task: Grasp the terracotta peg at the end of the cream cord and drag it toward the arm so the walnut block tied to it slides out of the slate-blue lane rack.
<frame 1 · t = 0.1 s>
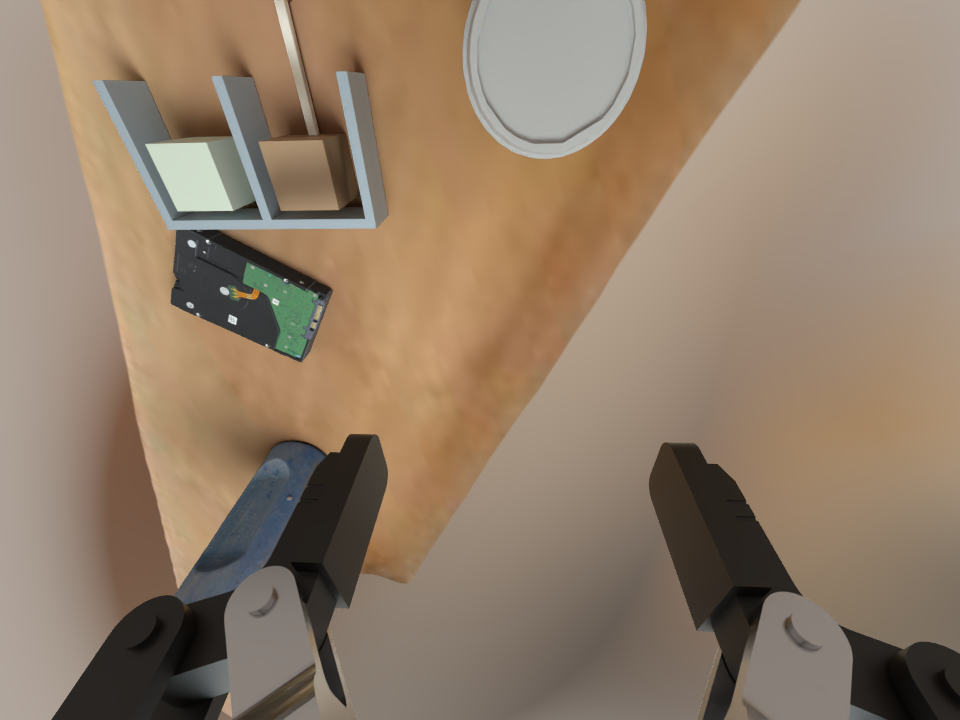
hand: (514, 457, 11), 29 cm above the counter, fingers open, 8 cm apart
lane rack: (270, 148, 33), on the counter
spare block: (228, 168, 34), resting in lane rack
corded block: (325, 166, 33), on the counter
bottle: (302, 459, 59), on the counter
disk drive: (260, 290, 42), on the counter
disposable coffee cup: (538, 67, 28), on the counter
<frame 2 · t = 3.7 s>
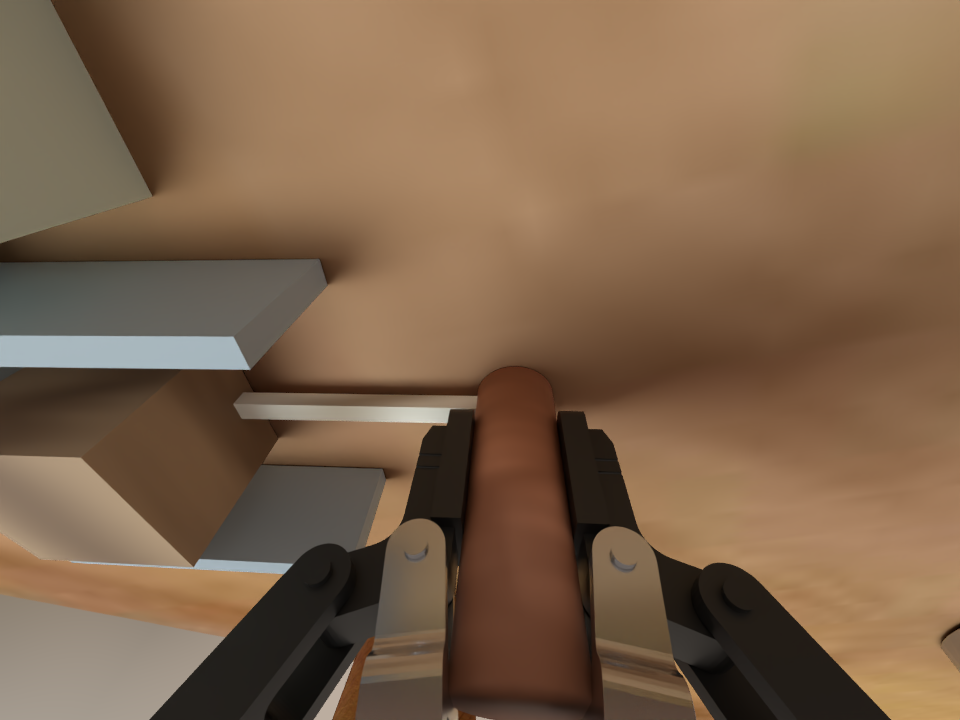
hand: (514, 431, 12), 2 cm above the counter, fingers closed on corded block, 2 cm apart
lane rack: (159, 274, 11), on the counter
corded block: (189, 391, 14), on the counter, touching gripper
disposable coffee cup: (425, 604, 24), on the counter
when the fingers open (2 cm above the counter, at t = 7.4 s): corded block stays where it is, on the counter.
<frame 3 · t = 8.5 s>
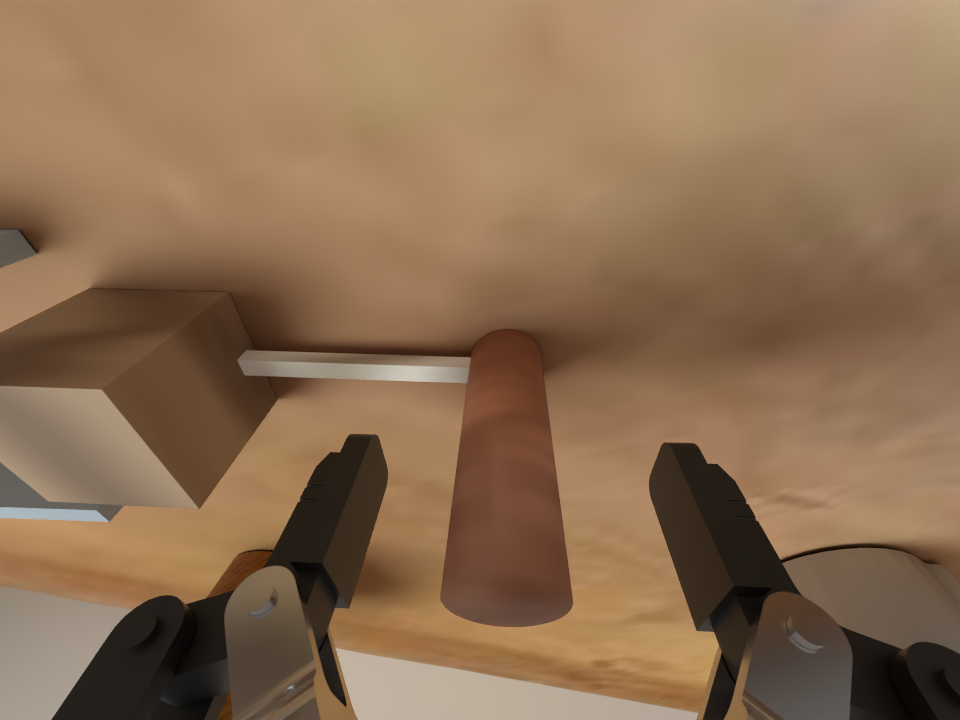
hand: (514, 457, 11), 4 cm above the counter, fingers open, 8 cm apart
corded block: (192, 349, 14), on the counter
disposable coffee cup: (282, 569, 26), on the counter
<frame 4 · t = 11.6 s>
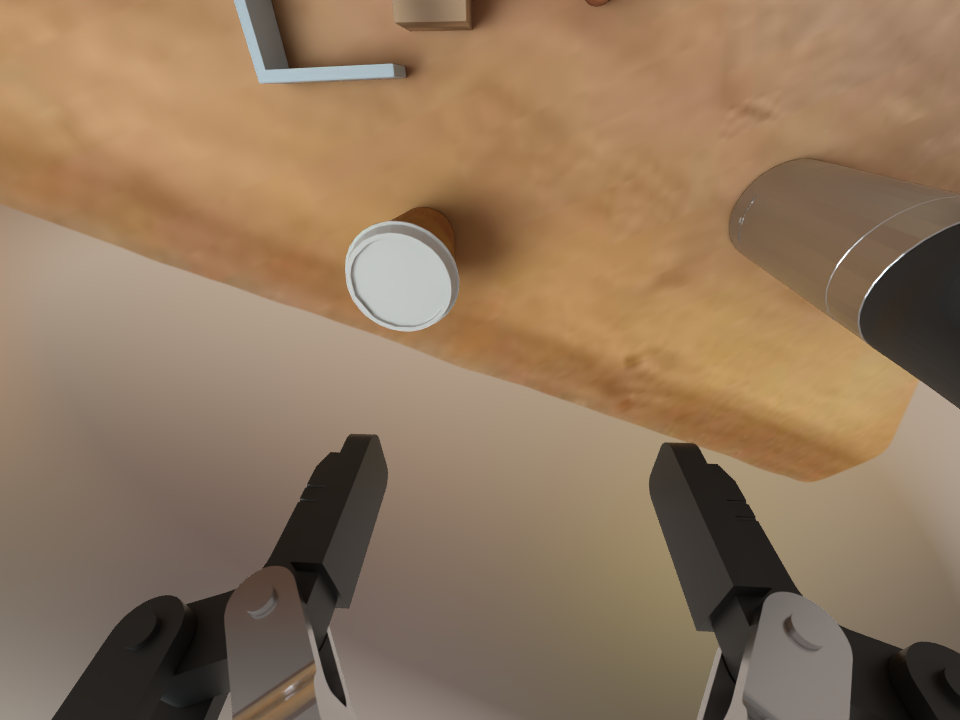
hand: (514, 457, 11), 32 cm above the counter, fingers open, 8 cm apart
disposable coffee cup: (426, 237, 40), on the counter
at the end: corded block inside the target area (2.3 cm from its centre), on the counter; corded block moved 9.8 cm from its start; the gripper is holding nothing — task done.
